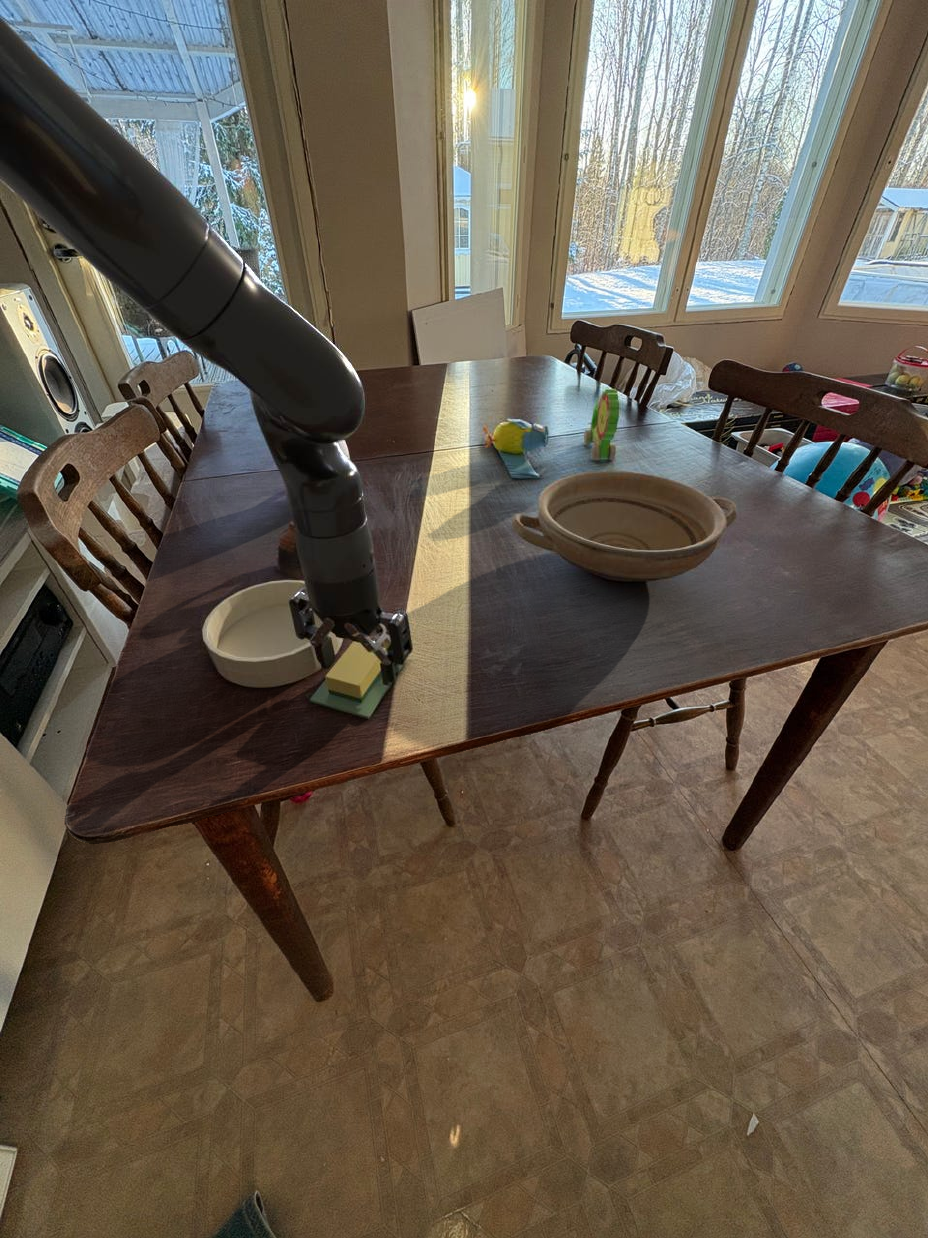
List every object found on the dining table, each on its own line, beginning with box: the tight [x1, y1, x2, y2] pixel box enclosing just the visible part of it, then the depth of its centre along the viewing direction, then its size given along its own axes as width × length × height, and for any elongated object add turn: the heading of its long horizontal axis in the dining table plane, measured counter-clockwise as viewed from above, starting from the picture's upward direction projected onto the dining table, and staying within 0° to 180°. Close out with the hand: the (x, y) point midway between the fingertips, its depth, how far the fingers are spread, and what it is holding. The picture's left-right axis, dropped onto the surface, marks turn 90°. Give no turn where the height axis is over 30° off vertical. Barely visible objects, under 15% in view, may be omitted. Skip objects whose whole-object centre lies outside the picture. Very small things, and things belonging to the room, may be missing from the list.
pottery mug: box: [276, 521, 302, 579], centre depth 84 cm, size 12×10×8 cm
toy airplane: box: [482, 418, 550, 480], centre depth 121 cm, size 28×9×15 cm
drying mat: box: [309, 661, 406, 720], centre depth 64 cm, size 10×8×1 cm
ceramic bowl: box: [511, 470, 739, 582], centre depth 83 cm, size 37×29×10 cm
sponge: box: [324, 641, 387, 703], centre depth 63 cm, size 7×4×3 cm, turn 160°
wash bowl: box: [201, 579, 344, 689], centre depth 69 cm, size 17×17×4 cm
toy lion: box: [583, 388, 620, 461], centre depth 120 cm, size 16×5×15 cm, turn 0°
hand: (359, 672), depth 63 cm, fingers open, 8 cm apart
